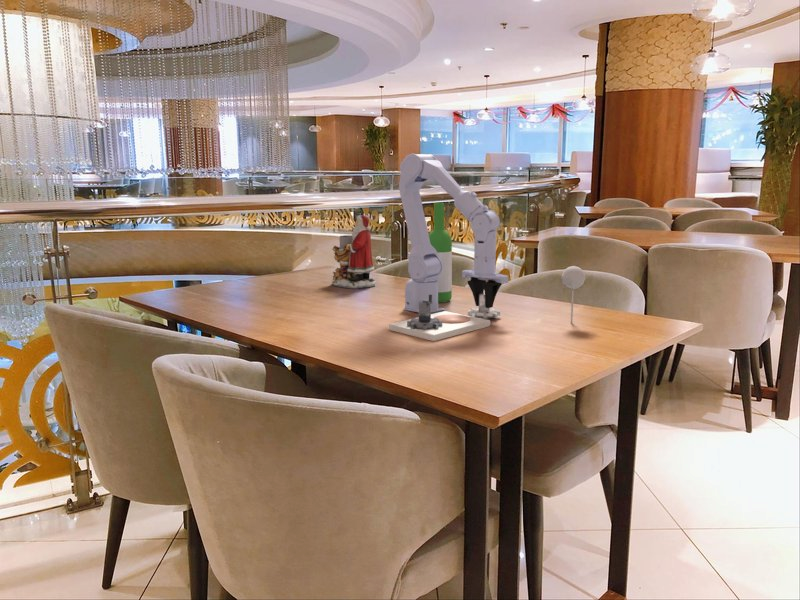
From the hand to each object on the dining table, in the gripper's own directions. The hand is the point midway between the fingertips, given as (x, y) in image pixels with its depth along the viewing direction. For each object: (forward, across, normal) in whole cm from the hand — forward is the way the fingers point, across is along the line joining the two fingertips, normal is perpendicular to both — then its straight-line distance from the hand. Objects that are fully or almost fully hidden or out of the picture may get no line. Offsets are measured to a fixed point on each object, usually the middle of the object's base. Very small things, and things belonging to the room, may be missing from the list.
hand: (484, 306), depth 176 cm
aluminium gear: (+2, 0, 0) cm, 2 cm away
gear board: (+3, -1, -16) cm, 17 cm away
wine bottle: (+3, -25, +8) cm, 27 cm away
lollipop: (+3, +20, +12) cm, 23 cm away
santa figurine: (+4, -66, +8) cm, 66 cm away
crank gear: (+2, -1, -22) cm, 22 cm away
